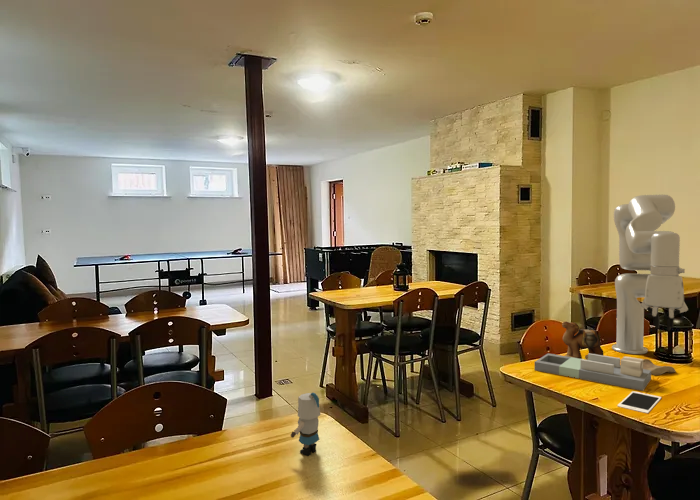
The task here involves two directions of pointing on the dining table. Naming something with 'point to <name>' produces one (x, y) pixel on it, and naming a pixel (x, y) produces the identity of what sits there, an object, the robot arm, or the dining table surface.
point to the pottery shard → (656, 368)
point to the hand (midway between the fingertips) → (663, 328)
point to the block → (631, 366)
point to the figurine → (580, 340)
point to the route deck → (592, 370)
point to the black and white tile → (639, 402)
